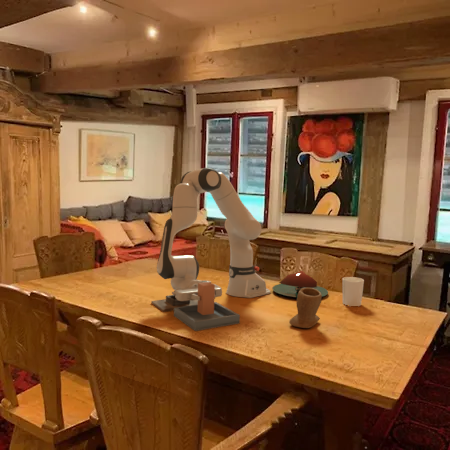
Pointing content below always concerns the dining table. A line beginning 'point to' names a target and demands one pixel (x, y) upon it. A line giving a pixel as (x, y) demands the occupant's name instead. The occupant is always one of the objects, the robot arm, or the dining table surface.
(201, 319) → the tray
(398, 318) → the dining table surface
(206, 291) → the terracotta block
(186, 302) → the holder
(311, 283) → the red dome on disc
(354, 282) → the candle holder
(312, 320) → the stone cup
